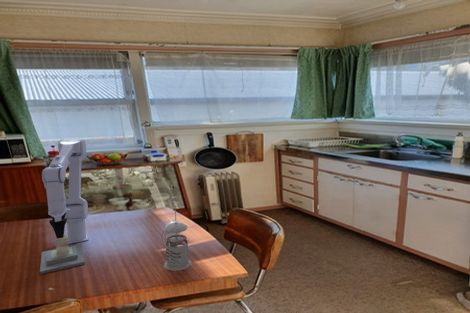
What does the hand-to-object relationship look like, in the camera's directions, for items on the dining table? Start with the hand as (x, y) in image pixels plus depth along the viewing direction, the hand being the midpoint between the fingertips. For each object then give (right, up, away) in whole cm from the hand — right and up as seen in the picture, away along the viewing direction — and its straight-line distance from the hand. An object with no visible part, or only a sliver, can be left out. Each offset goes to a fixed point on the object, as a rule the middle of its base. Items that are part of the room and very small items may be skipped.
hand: (60, 234), depth 119 cm
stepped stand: (0, -10, +1) cm, 10 cm away
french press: (+44, -10, -4) cm, 46 cm away
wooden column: (0, -7, +1) cm, 7 cm away
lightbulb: (+41, -8, +10) cm, 43 cm away
